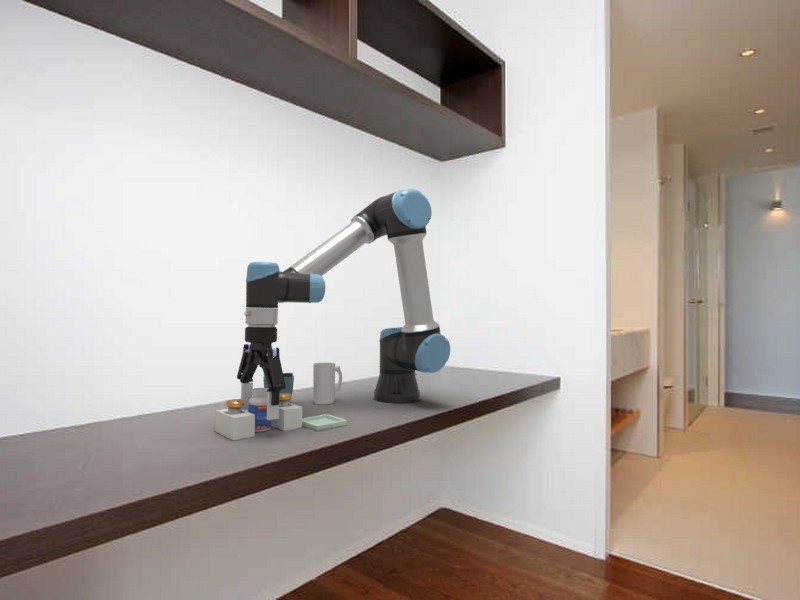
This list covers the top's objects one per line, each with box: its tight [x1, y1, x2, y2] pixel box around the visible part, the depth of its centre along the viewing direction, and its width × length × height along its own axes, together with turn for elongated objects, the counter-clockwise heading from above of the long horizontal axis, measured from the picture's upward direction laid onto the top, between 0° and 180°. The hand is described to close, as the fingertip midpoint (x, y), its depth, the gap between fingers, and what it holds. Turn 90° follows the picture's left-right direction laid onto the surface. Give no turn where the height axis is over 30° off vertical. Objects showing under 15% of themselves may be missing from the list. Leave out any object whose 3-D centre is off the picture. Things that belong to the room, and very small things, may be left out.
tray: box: [302, 413, 348, 432], centre depth 118 cm, size 9×9×1 cm
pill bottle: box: [247, 387, 272, 433], centre depth 113 cm, size 6×5×10 cm
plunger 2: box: [279, 393, 293, 407], centre depth 117 cm, size 4×4×7 cm
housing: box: [214, 402, 304, 441], centre depth 113 cm, size 18×10×5 cm, turn 133°
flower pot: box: [263, 372, 295, 402], centre depth 141 cm, size 9×9×9 cm
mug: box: [312, 362, 343, 405], centre depth 146 cm, size 10×7×12 cm, turn 132°
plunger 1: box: [225, 398, 244, 415], centre depth 109 cm, size 4×4×7 cm
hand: (258, 414), depth 113 cm, fingers open, 13 cm apart
